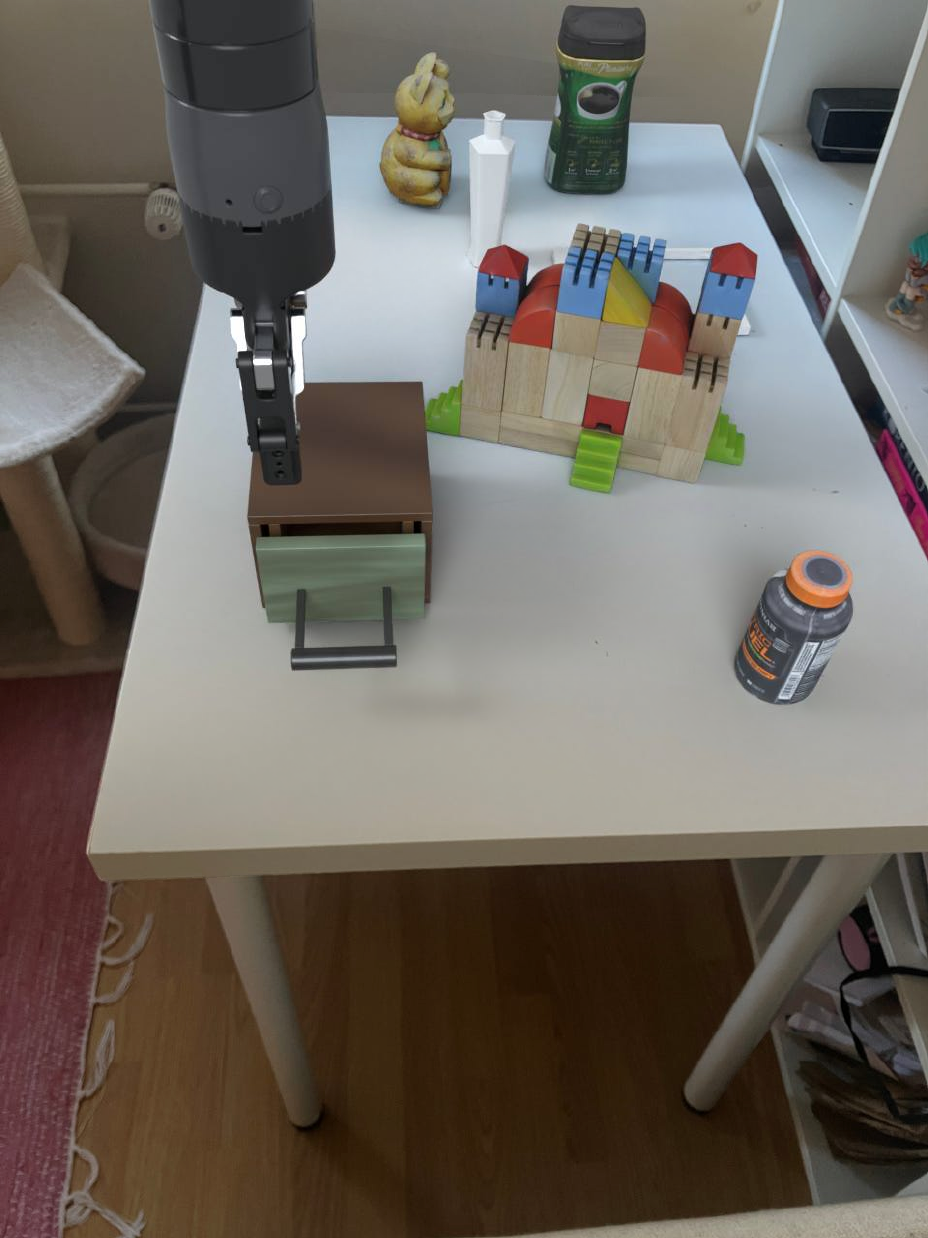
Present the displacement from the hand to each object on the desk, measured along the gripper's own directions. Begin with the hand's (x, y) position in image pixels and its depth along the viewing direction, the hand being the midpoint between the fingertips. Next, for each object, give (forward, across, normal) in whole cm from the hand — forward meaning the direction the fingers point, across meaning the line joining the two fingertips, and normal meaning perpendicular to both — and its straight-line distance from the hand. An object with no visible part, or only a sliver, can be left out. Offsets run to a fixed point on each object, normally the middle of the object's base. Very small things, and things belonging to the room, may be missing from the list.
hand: (285, 433), depth 62 cm
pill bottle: (+18, +7, +34) cm, 39 cm away
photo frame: (+18, -42, +34) cm, 57 cm away
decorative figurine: (+18, -62, +12) cm, 65 cm away
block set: (+18, -20, +24) cm, 36 cm away
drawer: (+16, -2, +3) cm, 17 cm away
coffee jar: (+18, -66, +32) cm, 75 cm away
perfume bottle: (+18, -49, +19) cm, 55 cm away
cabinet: (+17, -8, +3) cm, 19 cm away
